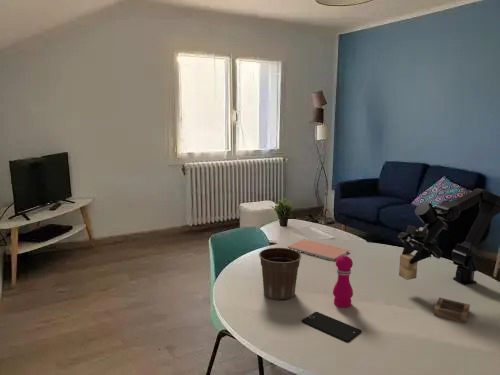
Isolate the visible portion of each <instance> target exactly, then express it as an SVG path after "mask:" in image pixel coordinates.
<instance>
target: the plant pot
mask: <svg viewBox="0 0 500 375" xmlns="http://www.w3.org/2000/svg"><path fill="white" fill-rule="evenodd" d="M258 256H259V258H260V266H261V272H262V273H261V274H262V275H261V276H262V287H263V288H262V289H263V294H264V296H265V295H266V296H265V297H266V298H269V299H271V298H272V299H271V300H275V299H276V300H277V301H282V300H285V299H286V300H289V299H291V298H294V296H295V295H296V294H295V293H296V286H297V279H298V278H297V277H298V270H299V267H300V263H301V259H302V253H301V252H300V253H299V252H297V251H295V250H292V249H288V247H287V248H286V247H270V248H266V249H263V250H261V251H260V252H259V253H258ZM294 294H295V295H294ZM276 300H275V301H276Z"/></svg>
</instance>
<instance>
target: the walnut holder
mask: <svg viewBox="0 0 500 375" xmlns="http://www.w3.org/2000/svg"><path fill="white" fill-rule="evenodd" d="M470 306H471V305H470V304H468V303H464V302H460V301H455V300H451V299H447V298H444V297H443V298H442V297H440V296H439V297H438V299H437V301H436V304H435V305H434V308H433V315H434V316H437V317H439V318H444V319H447V320H448V319H449V320H451V321H456V322H460V323H463V324H466V323H467V318H468V316H469V313H470ZM446 308H448V309H446ZM450 309H452V310H450ZM454 310H456V311H454ZM459 311H460V312H459Z"/></svg>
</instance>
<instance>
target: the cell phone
mask: <svg viewBox="0 0 500 375" xmlns="http://www.w3.org/2000/svg"><path fill="white" fill-rule="evenodd" d="M301 323H303V324H305V325H307V326H309V327H311V328H313V329H316V330H317V331H320V332H322V333H324V334H327V335H328V336H332V337H334V338H336V339H338V340H341V341H343V342H345V343H349V342H351V341H353V339H355V338H356V337H357V336H359V335H360V334H361V333H362V329H359V328H357V327H355V326H353V325H350V324H348V323H345V322H343V321H341V320H338V319H335V318H333V317H331V316H328V315H326V314H324V313H321V312H319V311H314V312H313V313H311V314H310V315H308V316H306V317H304V318H303V319H302V320H301Z"/></svg>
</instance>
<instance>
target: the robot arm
mask: <svg viewBox="0 0 500 375" xmlns="http://www.w3.org/2000/svg"><path fill="white" fill-rule="evenodd" d="M478 203H479V205H478V206H479V213H478V215H477V217H476V218H475V220H474V222H473V224H472V226H471V228H470V229H469V232H468V234H467V235H466V237H465V239H464V241H463V242H461V243H456V244H455V246H454V248H453V250H452V253H451V258H452V263H453V265H455V266H456V270H455V276H454V277H452V279H453V280H455V281H457V282H458V283H461V284H463V285H471V284H477V280H474V278H475V272H477V271H479V270H480V267H481V264H480V263H479V262H478V260H477V258H478V251H477V250H478V249H477V248H478V245H479V244H480V242H481V240H482V239H483V236H484V234H485V232H486V230H488V226H489V224H490V223H491V221H492V219H493V218H494V217H495V216H497V215H499V214H500V195H498V194H495V193H493V192H490V191H488V190H487V189H482V188H474V189H473V190H472V191H471V192H467V193H466V194H464V195H463V196H461V197H458V198H456V199H455V200H452V201H447V202H446V201H445V202H442V203H438V204H437V205H436V206H433V204H432V203H431V202H430V201H425V202H424V203H421V204H420V205H418V206H416V207H415V209H414V214H415V215H416V216H417V217H418V218H419V219H420V221H421V222H422V223H423V224H424V226H423V227H422V226H420V227H419V228H418V227H416V226H414V225H410V224H408V225H407V229H406V231H405V232H404V231H402V232H399V233H398V235H397V238H398V239H399V240H400V241H401V242H402V243H403V250H402V252H401V253H402V254H401V255H404V254H412V253H413V252H414V251H416V248H414V246H416V247H417V252H416V253H415V254H414V256H413V258H412V259H411V261H410V262H409V263H410V264H413V263H416V262H421V261H423V260H425V259H427V258H430V259H431V258H432V256H433V258H436V259H437V260H440V259H441V258H442V256H443V251H442V250H441V249H440V248H439V246H438V245H437V244H434V243H433V241H434V242H436V241H437V240H438V237H437V236H438V235H439V234H440V233H441V231H442V230H444V231H445V230H447V231H448V230H449V227H448V222H452V221H455V220H456V219H457V218H458V217H460V215H461V212H462V211H465V210H466V209H469V208H470V207H473V206H474V205H475V204H478ZM446 221H448V222H446Z"/></svg>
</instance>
